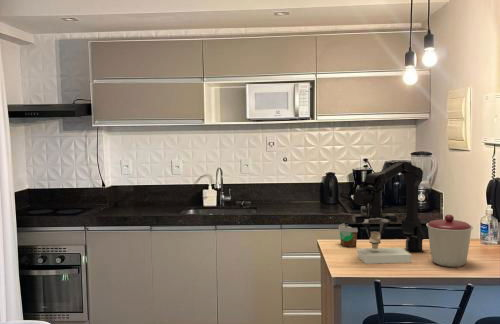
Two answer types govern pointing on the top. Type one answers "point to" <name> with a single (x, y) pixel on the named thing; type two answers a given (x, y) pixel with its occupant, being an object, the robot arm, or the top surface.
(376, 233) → the peg
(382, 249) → the board
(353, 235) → the food container
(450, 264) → the canister
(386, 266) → the top surface
